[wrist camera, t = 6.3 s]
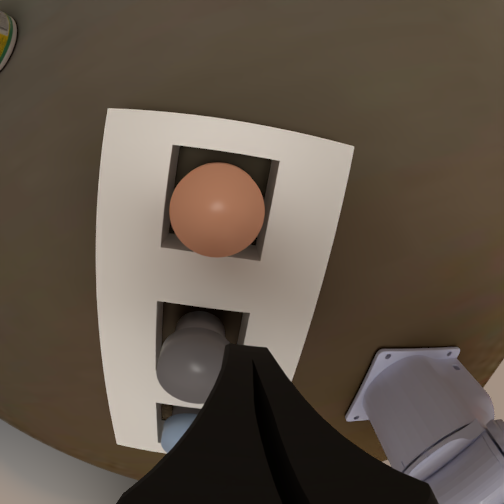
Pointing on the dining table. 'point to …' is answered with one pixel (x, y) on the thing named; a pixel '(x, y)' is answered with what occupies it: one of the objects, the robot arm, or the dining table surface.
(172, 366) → the charcoal button
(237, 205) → the terracotta button
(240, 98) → the dining table surface
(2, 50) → the supplement bottle
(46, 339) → the dining table surface
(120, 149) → the button panel
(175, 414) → the slate blue button
